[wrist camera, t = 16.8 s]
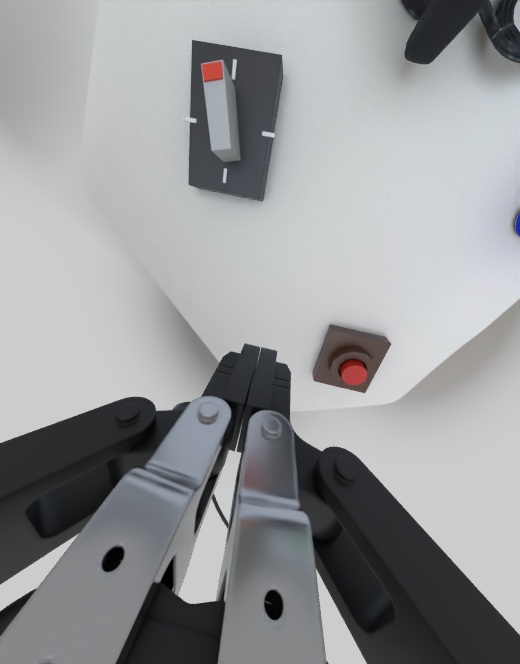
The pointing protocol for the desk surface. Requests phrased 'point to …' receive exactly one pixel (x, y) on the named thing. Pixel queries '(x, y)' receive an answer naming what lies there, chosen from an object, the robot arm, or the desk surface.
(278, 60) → the dial panel
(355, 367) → the power button
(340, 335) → the button housing
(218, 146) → the dial
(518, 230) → the beverage can
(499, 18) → the milk frother
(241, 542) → the robot arm
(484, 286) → the desk surface
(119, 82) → the desk surface
